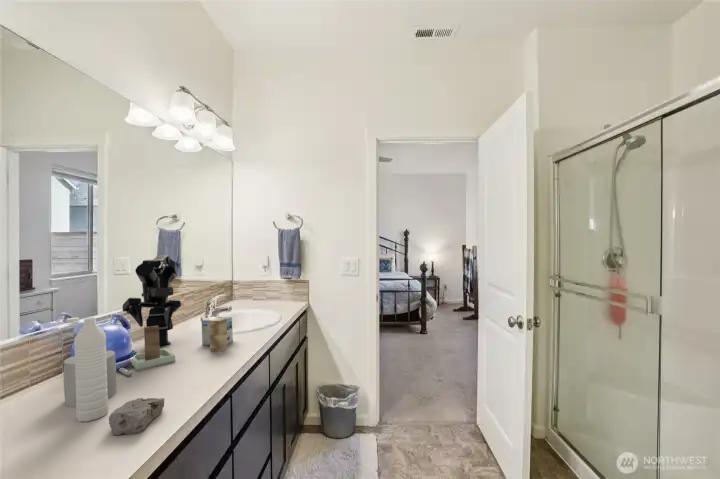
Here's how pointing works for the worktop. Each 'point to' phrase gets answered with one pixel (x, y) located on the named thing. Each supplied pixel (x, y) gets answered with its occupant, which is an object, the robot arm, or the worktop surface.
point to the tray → (153, 360)
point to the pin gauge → (125, 372)
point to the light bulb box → (207, 330)
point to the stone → (135, 415)
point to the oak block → (218, 334)
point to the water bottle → (90, 371)
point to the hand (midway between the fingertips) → (155, 326)
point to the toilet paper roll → (70, 378)
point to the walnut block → (151, 342)
